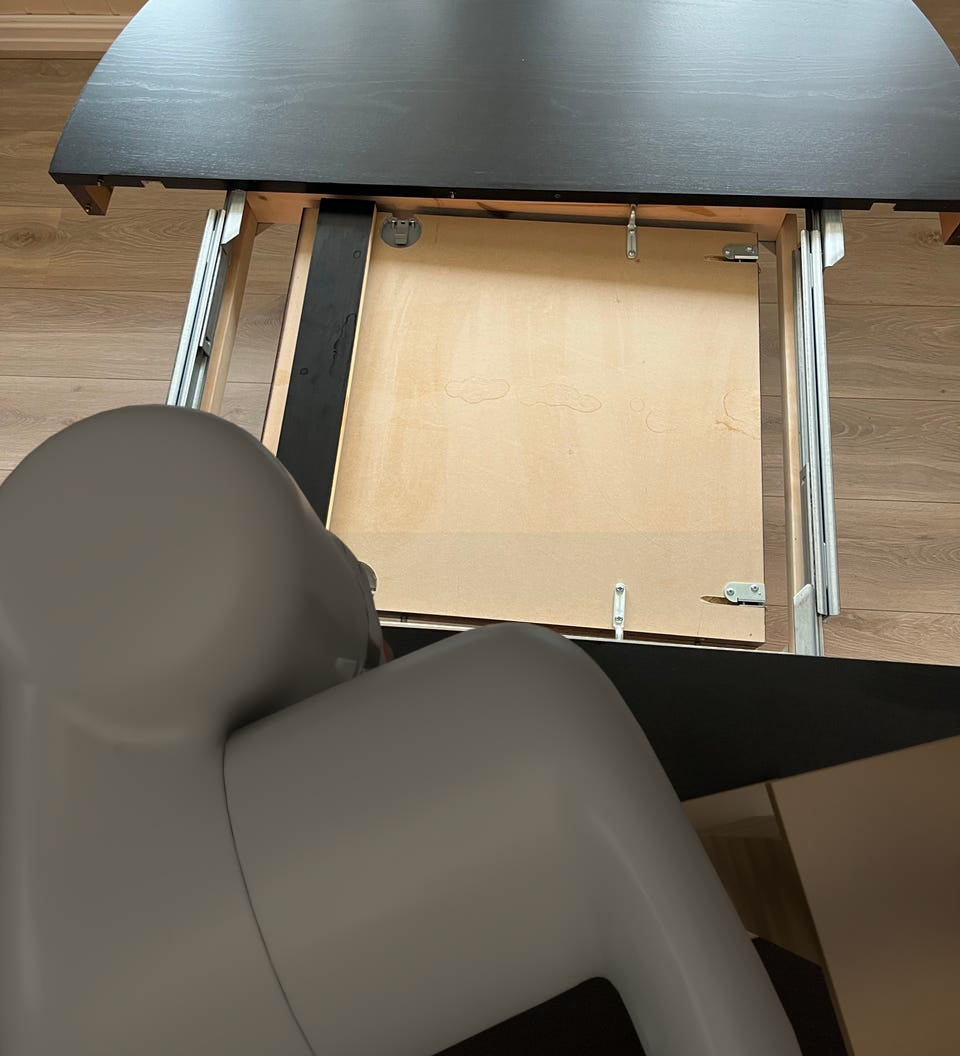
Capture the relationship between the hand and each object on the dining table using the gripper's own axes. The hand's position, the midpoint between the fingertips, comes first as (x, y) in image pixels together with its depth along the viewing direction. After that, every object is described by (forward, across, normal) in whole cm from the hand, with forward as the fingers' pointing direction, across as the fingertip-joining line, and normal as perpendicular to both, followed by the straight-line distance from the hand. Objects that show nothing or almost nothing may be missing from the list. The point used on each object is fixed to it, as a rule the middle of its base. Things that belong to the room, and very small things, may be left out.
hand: (349, 711), depth 50 cm
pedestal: (+27, -12, -20) cm, 35 cm away
